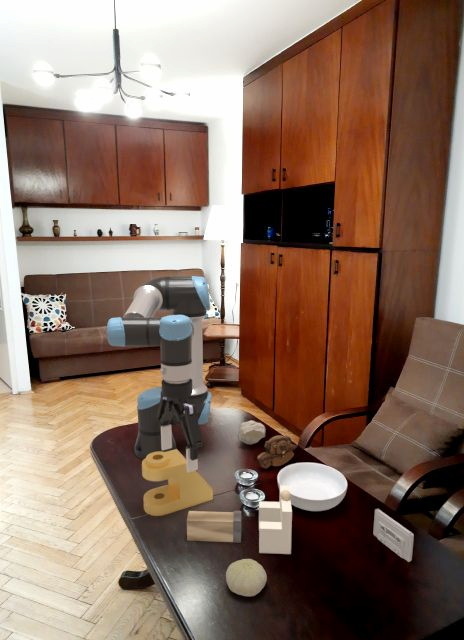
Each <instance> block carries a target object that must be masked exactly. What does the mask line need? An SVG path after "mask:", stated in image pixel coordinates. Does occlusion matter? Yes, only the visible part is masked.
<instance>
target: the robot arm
mask: <svg viewBox="0 0 464 640" xmlns="http://www.w3.org/2000/svg"><path fill="white" fill-rule="evenodd" d="M208 286H209V285H208V282H207V279H206V278H205V277H203V276H198V275H197V276H196V275H189V276H188V275H187V276H186V275H183V276H182V275H181V276H178V275H177V276H165V275H164V276H158V277H154V278H151V279H150V280H147V281H146V282H143V283H142V284H140V285H139V286H138V287H137V289H135V291H134V294H133V298H132V300H133V301H132V302H131V304H130V305H129V306H128V308H127V310H126V312H125V313H124V315H123V317H121V316H118V317H112V318H111V317H110V319H108V321H107V325H106V338H107V343H108V344H109V345H110V346H111V347H122V348H124V347H160V369H159V372H160V373H161V379H162V380H161V386H158V387H156V386H155V387H152V388H149V389H145V390H144V391H142V392H141V393H140V394H139V395H138V396H137V399H136V400H137V403H136V404H137V405H136V409H137V423H138V424H137V427H138V434H137V437H136V440H135V444H134V454H135V456H136V457H137V458H139V459H141V460H144V459H145V458H146V456H147V455H148V454H150V453H153V452H157V451H162V452H167V451H171V450H175V449H177V443H176V440H175V437H174V435H173V432H172V426H180V427H181V429H182V432H183V435H184V438H185V441H186V443H187V446H185V459H186V465H187V472H188V473H189V472H192V471H195V470H196V471H197V470H199V459H198V458H199V453H198V451H199V448H200V447H203V446H204V441H203V437H202V434H201V433H202V431H201V428H200V425H201V426H202V425H206V424H207V423H208V421H209V419H210V413H211V412H210V411H211V402H212V393H211V392H210V391H208V387H207V386H206V384H205V383H204V360H203V358H204V355H203V354H204V352H203V351H204V350H203V349H204V347H203V346H204V345H203V341H204V340H203V319H204V318H205V317H206V316H207V312H208V311H210V310H211V301H210V292H209V291H210V290H209V287H208ZM157 311H172V314H169V315H165V316H161V317H159V316H158V317H157V316H155V317H154V315H155V314H156V312H157Z"/></svg>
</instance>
